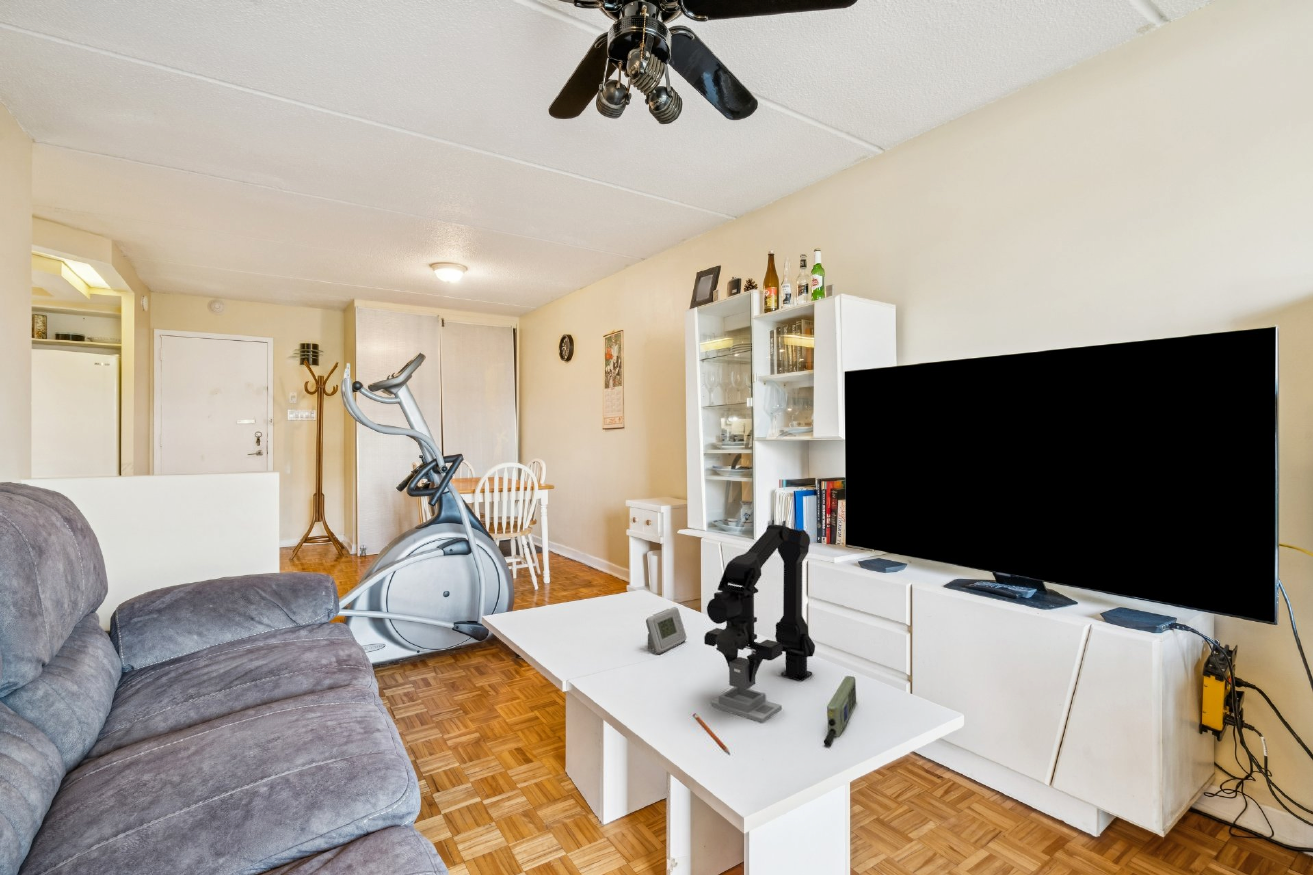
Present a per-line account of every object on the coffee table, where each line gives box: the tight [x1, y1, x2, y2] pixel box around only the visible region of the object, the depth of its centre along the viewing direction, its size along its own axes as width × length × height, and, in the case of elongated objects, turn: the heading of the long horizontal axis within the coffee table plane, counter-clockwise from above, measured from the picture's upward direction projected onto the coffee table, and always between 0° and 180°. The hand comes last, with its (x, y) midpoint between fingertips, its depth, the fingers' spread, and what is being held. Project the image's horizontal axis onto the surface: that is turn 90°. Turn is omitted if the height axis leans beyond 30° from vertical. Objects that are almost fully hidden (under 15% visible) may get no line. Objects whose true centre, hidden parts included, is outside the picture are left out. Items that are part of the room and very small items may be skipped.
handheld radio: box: [823, 675, 857, 747], centre depth 137 cm, size 7×3×25 cm
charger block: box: [728, 656, 756, 690], centre depth 145 cm, size 5×4×6 cm
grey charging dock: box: [710, 686, 783, 724], centre depth 145 cm, size 9×14×3 cm, turn 50°
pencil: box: [692, 713, 731, 755], centre depth 132 cm, size 1×19×1 cm, turn 19°
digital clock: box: [645, 606, 687, 655], centre depth 188 cm, size 16×9×11 cm, turn 133°
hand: (742, 679), depth 145 cm, fingers closed on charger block, 4 cm apart
